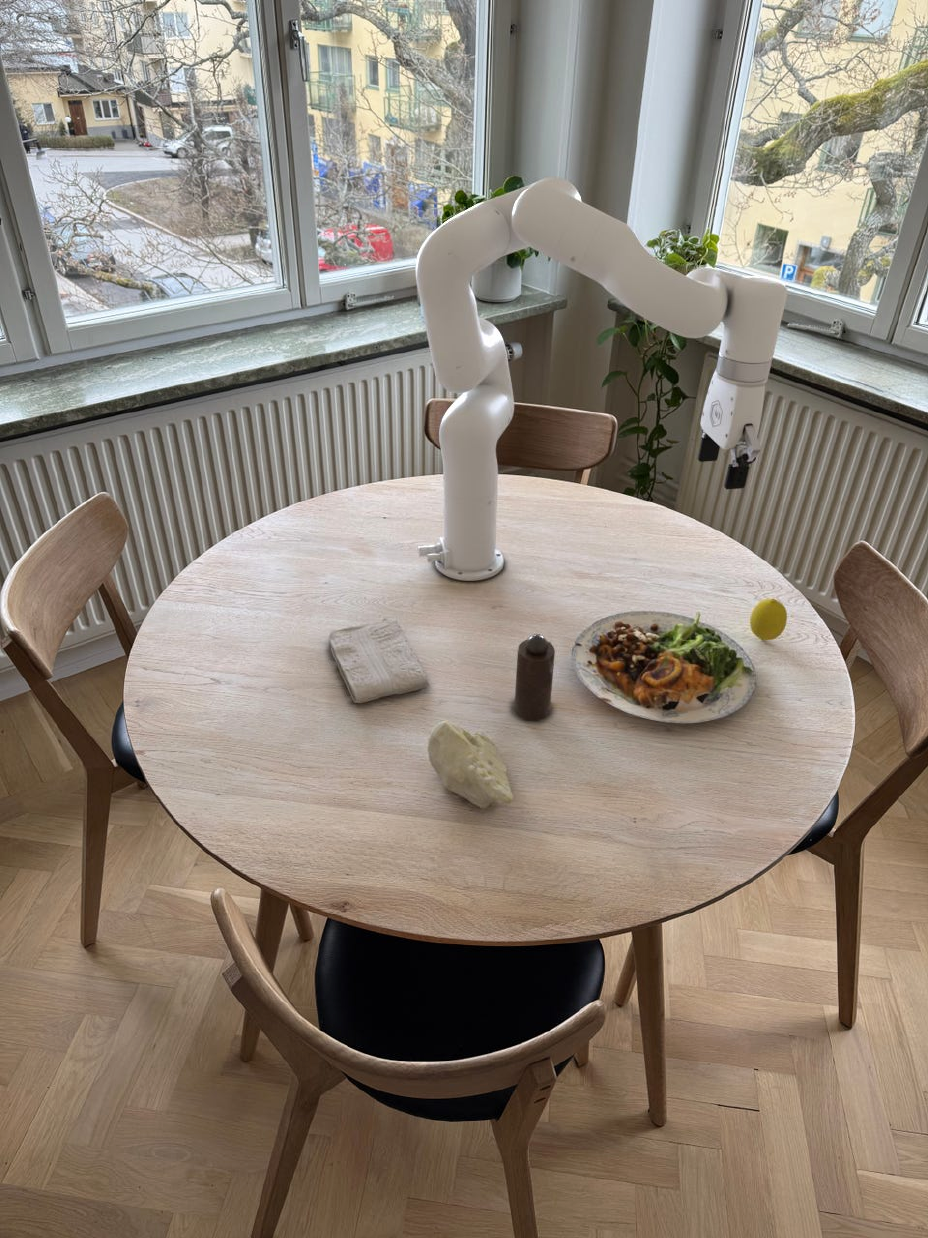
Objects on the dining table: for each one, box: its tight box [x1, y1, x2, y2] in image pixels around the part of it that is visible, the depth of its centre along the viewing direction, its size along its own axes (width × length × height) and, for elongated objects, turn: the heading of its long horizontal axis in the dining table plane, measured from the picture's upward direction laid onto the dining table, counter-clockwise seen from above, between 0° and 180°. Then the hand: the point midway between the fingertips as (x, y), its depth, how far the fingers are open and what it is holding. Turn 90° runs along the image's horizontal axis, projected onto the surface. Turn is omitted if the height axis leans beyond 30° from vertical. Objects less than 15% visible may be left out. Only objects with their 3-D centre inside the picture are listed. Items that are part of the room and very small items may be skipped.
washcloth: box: [328, 618, 430, 704], centre depth 140 cm, size 12×18×3 cm, turn 22°
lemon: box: [749, 598, 788, 642], centre depth 145 cm, size 6×6×8 cm
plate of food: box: [571, 610, 758, 724], centre depth 138 cm, size 28×28×6 cm
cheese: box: [427, 719, 515, 810], centre depth 117 cm, size 15×7×15 cm
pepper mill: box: [514, 633, 556, 722], centre depth 129 cm, size 5×5×13 cm
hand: (720, 473), depth 141 cm, fingers open, 9 cm apart
